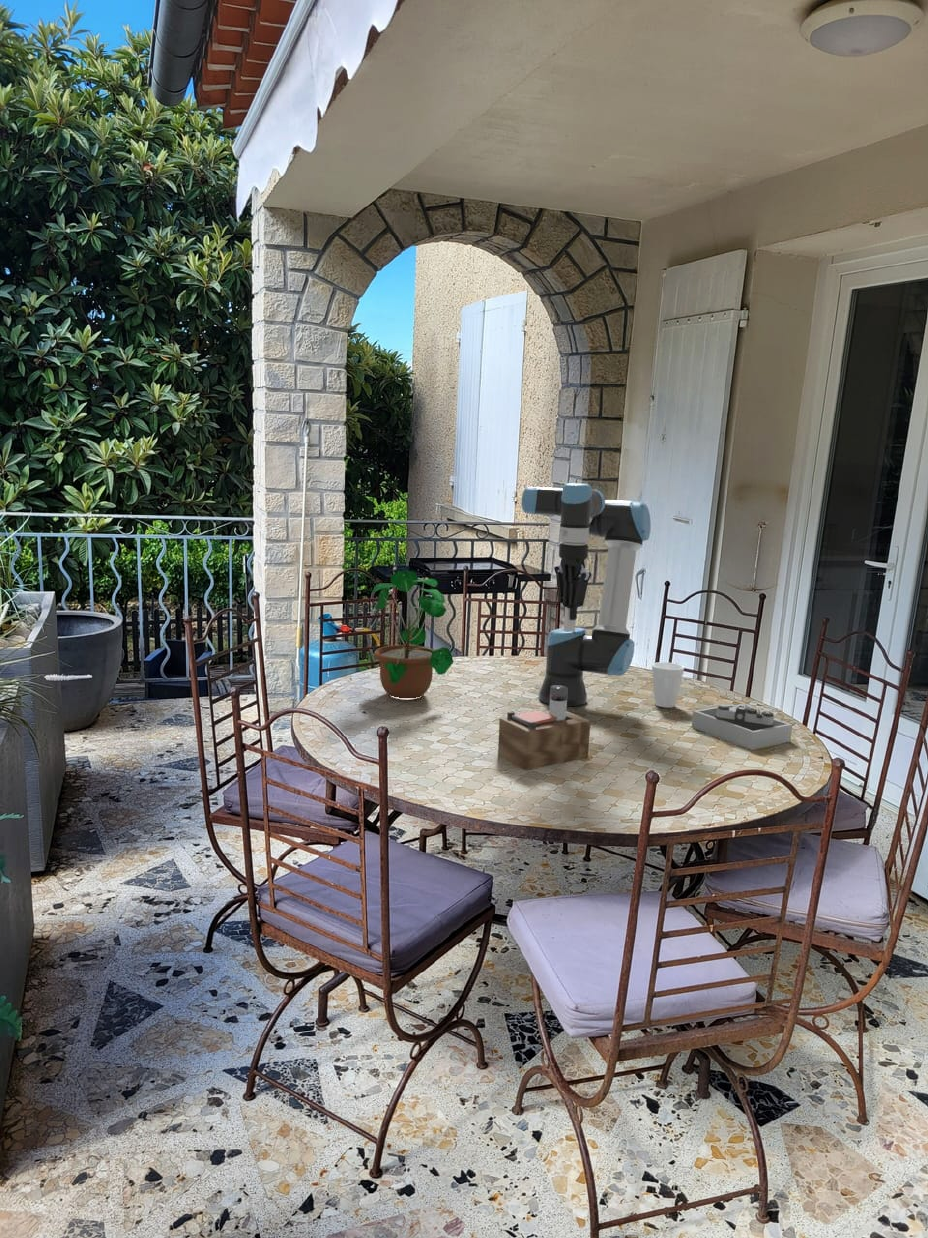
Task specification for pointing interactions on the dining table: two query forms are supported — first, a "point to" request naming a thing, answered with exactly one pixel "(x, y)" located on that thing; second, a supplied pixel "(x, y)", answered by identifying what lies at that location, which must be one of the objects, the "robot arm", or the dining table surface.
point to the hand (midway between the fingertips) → (569, 630)
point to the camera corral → (741, 730)
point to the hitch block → (543, 741)
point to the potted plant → (411, 642)
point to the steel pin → (558, 702)
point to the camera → (745, 717)
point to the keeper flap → (533, 717)
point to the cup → (666, 683)
